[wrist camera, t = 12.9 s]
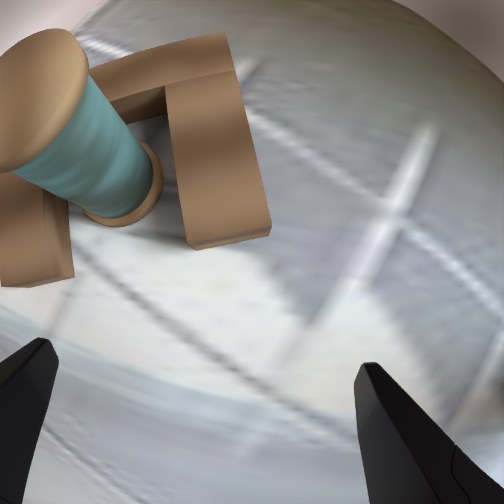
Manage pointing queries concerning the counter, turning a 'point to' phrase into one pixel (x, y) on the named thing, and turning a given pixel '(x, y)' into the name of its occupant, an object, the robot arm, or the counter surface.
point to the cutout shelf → (184, 153)
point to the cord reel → (71, 132)
